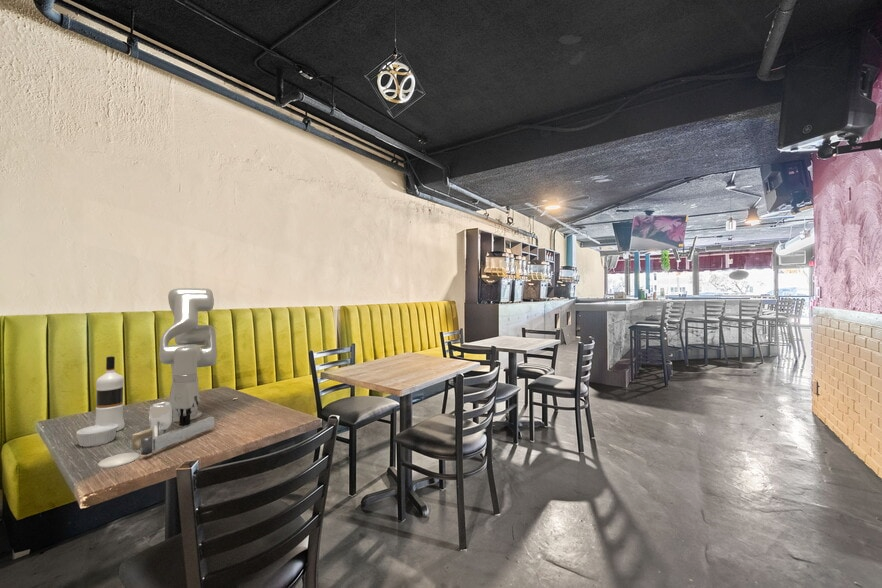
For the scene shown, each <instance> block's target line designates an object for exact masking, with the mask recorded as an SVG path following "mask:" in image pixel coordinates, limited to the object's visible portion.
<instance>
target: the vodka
mask: <svg viewBox="0 0 882 588" xmlns="http://www.w3.org/2000/svg"><path fill="white" fill-rule="evenodd" d="M105 359H106V360H105V361H106V362H105V373H104V374H102V375H100V376H99V377H98V378H97V379H96V381H95V386H96V388H95V390H96V395H95V396H96V400H95V401H96V403H95V404H96V405H95V406H96V407H95V423H94V425H100V424H117V425H118V428H117V432H119V431H122V430H123V429H124V428H125V425H126V424H125V423H126V422H125V420H124V419H125V418H124V386H125V385H124V384H125V383H124V382H125V377H124V376H123V375H122V374H119V373H117V372H116V371H115V368H116V367H115V365H116V364H115V363H116V362H115V361H116V358H115V356H111V355H110V356H106V357H105Z"/></svg>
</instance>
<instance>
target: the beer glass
mask: <svg viewBox="0 0 882 588" xmlns="http://www.w3.org/2000/svg"><path fill="white" fill-rule="evenodd" d="M148 410H149V412H148V424H149V429H150V430H151V435H152V437H153V438H154V437H156V436H159V435H162V434H165V433H167V432H170V431H172V429H171V428H172V424H173V422H172V420H173V405H172V402H169V401H162V402H161V401H160V402H155V403H151V404H150V405H149V409H148ZM169 446H170V445H168V446H166V447H165V448H167V447H169Z"/></svg>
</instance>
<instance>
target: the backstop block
mask: <svg viewBox="0 0 882 588" xmlns="http://www.w3.org/2000/svg"><path fill="white" fill-rule="evenodd" d="M150 436H151V437H152V435H151V430H150V428H148V429H144V430H141V431H140V432H136V433H133V434H132V440H131V441H132V445H131V446H132V447H131V448H134V449H133V450H141V449H140V448H141V439H142V438H144V437H150Z"/></svg>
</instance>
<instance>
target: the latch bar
mask: <svg viewBox="0 0 882 588" xmlns="http://www.w3.org/2000/svg"><path fill="white" fill-rule="evenodd" d="M213 428H215V416H208V417H206V418H202V419H201V420H197V421H195V422H191V423H190V424H189V425H186V426H180V427H178V428H175V429H173V430H170V432H167V433H165V434H162V435H159V436H156V437H154V438H153V437H151V436H150V437H144V438H142V439H141V449H140V455H141V456H146V455H150V454H152V453H153V452H156V451H158V450H161V449H163V448H167V447H169V446H171V445H173V444H175V443H176V444H177V443H179V442H181V441H182V440H183V441H184V440H186V439H188V438H190V437H193V436H195V435H198V434H200V433H203V432H205V431H208V430H210V429H213ZM168 445H169V446H168ZM166 446H167V447H166Z"/></svg>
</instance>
